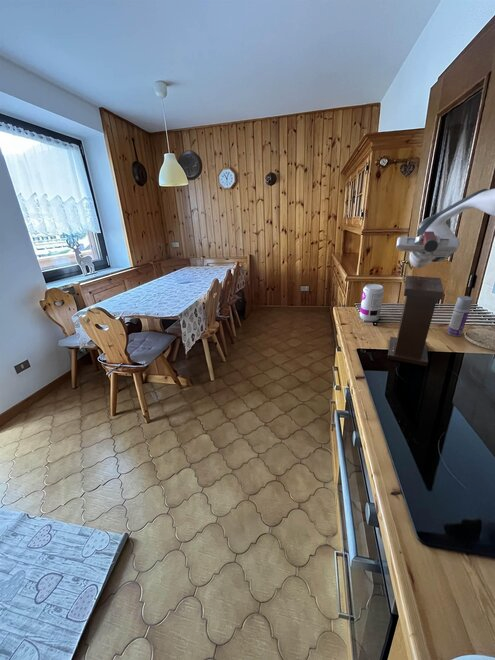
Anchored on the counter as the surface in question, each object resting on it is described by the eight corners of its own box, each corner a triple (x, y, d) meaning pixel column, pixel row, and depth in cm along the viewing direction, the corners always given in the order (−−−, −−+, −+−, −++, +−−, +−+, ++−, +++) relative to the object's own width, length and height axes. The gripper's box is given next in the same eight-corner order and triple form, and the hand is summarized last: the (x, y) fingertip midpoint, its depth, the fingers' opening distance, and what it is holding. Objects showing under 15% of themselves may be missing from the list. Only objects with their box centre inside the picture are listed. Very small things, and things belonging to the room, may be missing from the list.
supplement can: (358, 320, 126) (362, 288, 119) (361, 313, 132) (365, 282, 125) (377, 323, 122) (383, 290, 116) (379, 315, 129) (385, 284, 122)
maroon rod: (421, 239, 108) (423, 229, 106) (432, 239, 106) (435, 229, 104) (423, 251, 90) (425, 240, 89) (436, 252, 89) (439, 240, 87)
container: (457, 330, 113) (468, 295, 106) (463, 336, 109) (476, 300, 102) (444, 330, 113) (455, 295, 106) (450, 336, 109) (462, 300, 102)
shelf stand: (389, 340, 110) (402, 275, 98) (425, 346, 104) (444, 278, 92) (387, 358, 99) (401, 288, 87) (426, 366, 94) (448, 292, 81)
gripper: (396, 240, 118) (398, 228, 106) (455, 242, 109) (464, 228, 97) (393, 255, 118) (395, 244, 106) (452, 258, 109) (461, 246, 97)
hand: (429, 237), depth 101 cm, fingers closed on maroon rod, 3 cm apart
